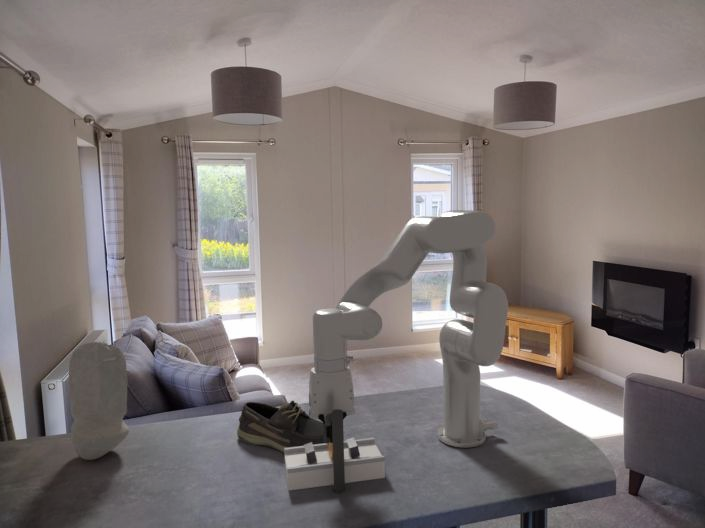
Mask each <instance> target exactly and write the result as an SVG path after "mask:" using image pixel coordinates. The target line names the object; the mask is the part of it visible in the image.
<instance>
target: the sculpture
mask: <svg viewBox="0 0 705 528" xmlns="http://www.w3.org/2000/svg"><path fill="white" fill-rule="evenodd" d="M68 382H69V383H68V384H69V397H70V398H69V399H70V401H69V402H70V416H71V417H72V418H73V422H72V423H71V426H70V434H71V439H72V443H73V447H74V451H75V452H76V454H77V455H78V456H79V457H80V458H81V459H83V460H86V461H89V460H97V459H99V458H101V457H103V456H104V455H105V456H106V454H108V453H109V452H110V451H112V450H114V449H115V448H117V447H118V446H119V445H120V444H121V443H122V442H123V441H124V440H125V439H126V438H127V437H128V436H129V435H128V434H129V433H130V431H129V430H130V429H129V427H128V425H127V424H126V423H125V421H124V417H125V415H126V414H127V412H128V403H127V401H128V373H127V360H126V356H125V353H124V352H123V350H122V349H121V348H120V347H119V346H116V345H114V344H108V343H106V342H102V341H92V342H86V343H83V344H81V345H79V346H78V347H76V348H75V349H73V351H72V354H71V356H70V359H69V364H68Z"/></svg>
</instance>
